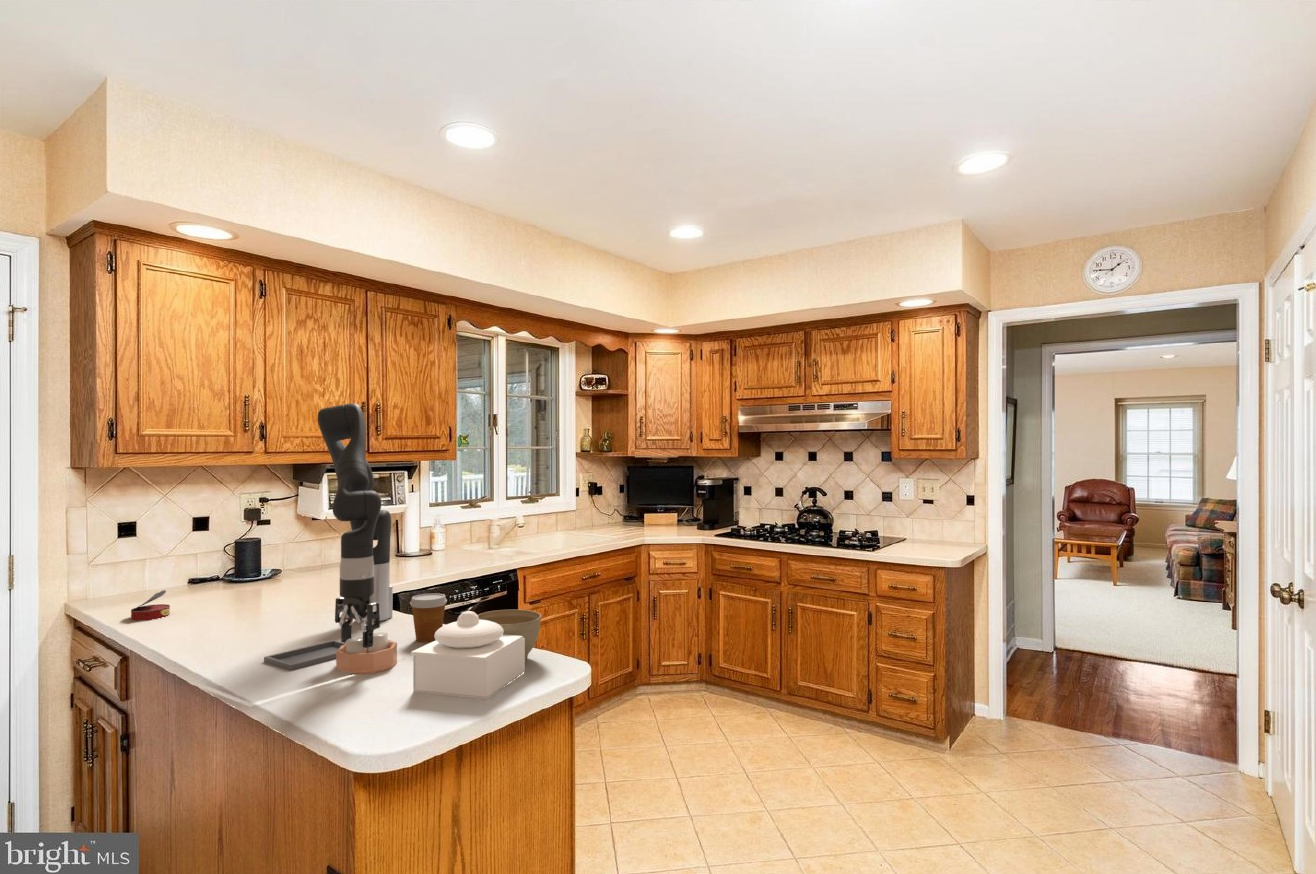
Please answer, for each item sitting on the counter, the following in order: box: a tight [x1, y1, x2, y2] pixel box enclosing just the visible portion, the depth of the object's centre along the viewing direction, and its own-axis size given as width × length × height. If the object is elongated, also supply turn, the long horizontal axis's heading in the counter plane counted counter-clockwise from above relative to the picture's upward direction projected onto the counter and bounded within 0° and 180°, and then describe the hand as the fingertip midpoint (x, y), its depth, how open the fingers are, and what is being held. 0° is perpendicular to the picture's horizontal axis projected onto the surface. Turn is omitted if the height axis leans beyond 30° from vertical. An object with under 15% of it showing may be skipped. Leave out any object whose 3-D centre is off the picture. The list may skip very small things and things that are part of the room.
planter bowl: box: [477, 609, 542, 662], centre depth 170 cm, size 16×16×11 cm
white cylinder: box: [368, 631, 389, 653], centre depth 169 cm, size 4×4×6 cm
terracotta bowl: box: [335, 639, 398, 676], centre depth 167 cm, size 13×13×4 cm
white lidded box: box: [410, 610, 526, 700], centre depth 154 cm, size 18×18×16 cm
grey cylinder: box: [345, 636, 367, 654], centre depth 164 cm, size 4×4×6 cm
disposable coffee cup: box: [409, 593, 448, 644], centre depth 188 cm, size 10×10×12 cm
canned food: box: [130, 589, 171, 622], centre depth 218 cm, size 11×10×10 cm
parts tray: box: [263, 639, 346, 671], centre depth 172 cm, size 18×12×2 cm, turn 146°
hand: (356, 644), depth 165 cm, fingers open, 8 cm apart
